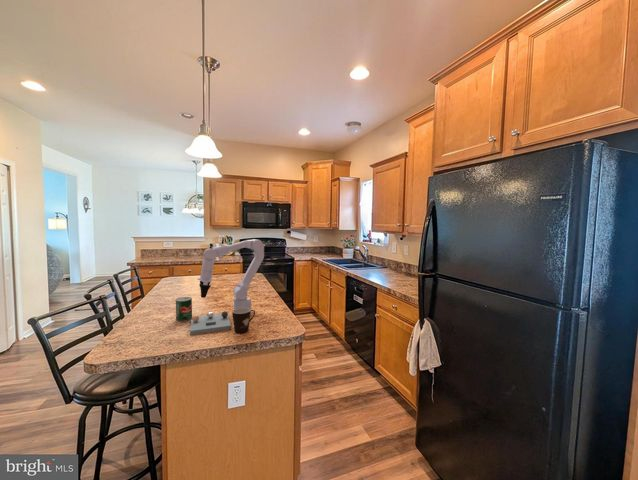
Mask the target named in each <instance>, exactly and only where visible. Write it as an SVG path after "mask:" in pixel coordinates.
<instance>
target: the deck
mask: <svg viewBox="0 0 638 480" xmlns="http://www.w3.org/2000/svg"><path fill="white" fill-rule="evenodd" d="M192 318H193V316H192ZM190 321H191V322H190V330H189V334H190V336H195V335H201V334H208V333H215V332H216V333H217V332H223V331H224V332H225V331H231V330H232V325H231V320H230V317H229V315H228V316H227V317H225V318H224V317H222V313H218V314H217V313H215V314H214V316H213V317H212V318H208V317H207V314H206V315H200V316H199V320H198V321H197V322H194V321H193V320H192V319H191V320H190Z"/></svg>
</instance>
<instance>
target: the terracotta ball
mask: <svg viewBox="0 0 638 480" xmlns="http://www.w3.org/2000/svg"><path fill="white" fill-rule="evenodd" d="M192 317H193V318H192V319H191V321H192V320H193V321H194V322H197V321H198V320H199V316H198V315H196V314H195V315H192Z"/></svg>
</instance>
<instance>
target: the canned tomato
mask: <svg viewBox="0 0 638 480" xmlns="http://www.w3.org/2000/svg"><path fill="white" fill-rule="evenodd" d="M192 317H193V299H192V297H191V296H183V297H178V298H176V299H175V321H176V322H188V321H191V320H192Z"/></svg>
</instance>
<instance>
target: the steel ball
mask: <svg viewBox="0 0 638 480" xmlns="http://www.w3.org/2000/svg"><path fill="white" fill-rule="evenodd" d="M206 315H207V317H208V318H212V317H213V316H214V315H215V314H214V312H212V311H209V312H207V314H206Z"/></svg>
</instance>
